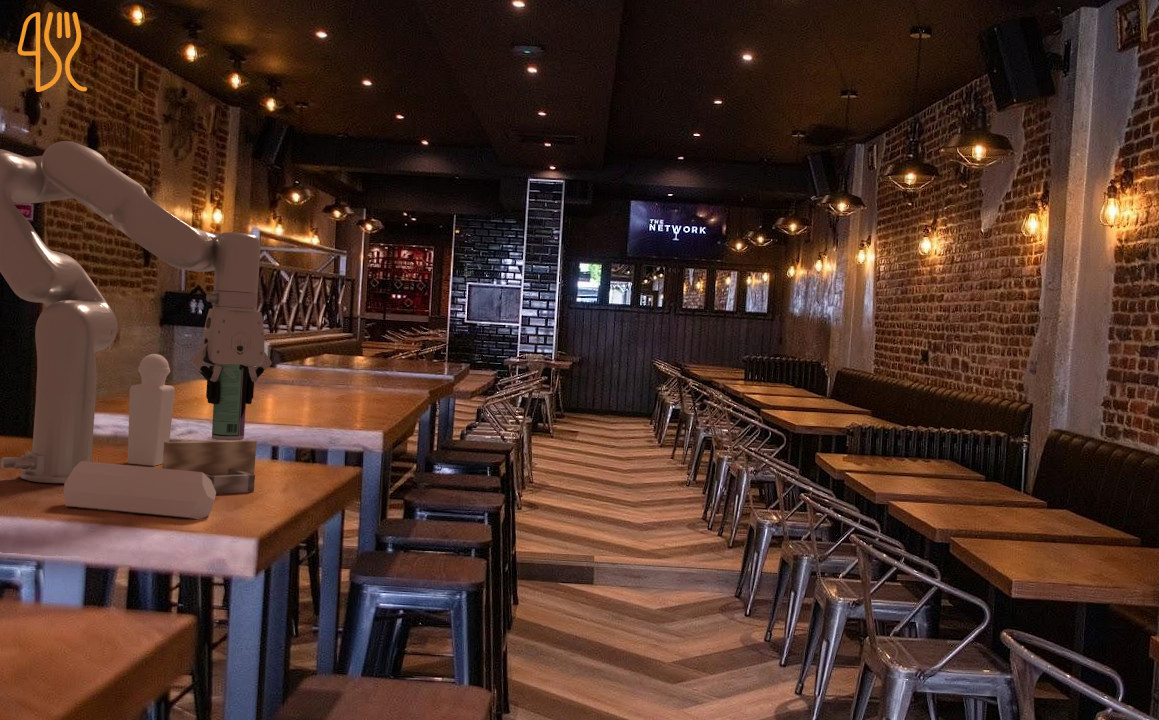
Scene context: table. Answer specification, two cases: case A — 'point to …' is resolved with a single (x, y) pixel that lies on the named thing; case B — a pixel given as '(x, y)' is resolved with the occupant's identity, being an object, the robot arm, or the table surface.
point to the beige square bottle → (150, 412)
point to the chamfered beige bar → (139, 490)
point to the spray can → (231, 403)
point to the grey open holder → (215, 462)
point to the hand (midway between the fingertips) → (229, 402)
